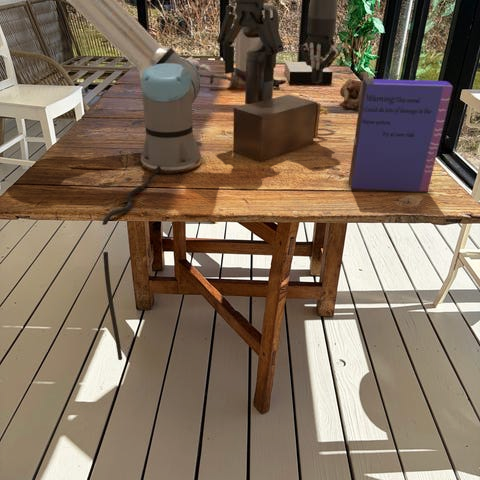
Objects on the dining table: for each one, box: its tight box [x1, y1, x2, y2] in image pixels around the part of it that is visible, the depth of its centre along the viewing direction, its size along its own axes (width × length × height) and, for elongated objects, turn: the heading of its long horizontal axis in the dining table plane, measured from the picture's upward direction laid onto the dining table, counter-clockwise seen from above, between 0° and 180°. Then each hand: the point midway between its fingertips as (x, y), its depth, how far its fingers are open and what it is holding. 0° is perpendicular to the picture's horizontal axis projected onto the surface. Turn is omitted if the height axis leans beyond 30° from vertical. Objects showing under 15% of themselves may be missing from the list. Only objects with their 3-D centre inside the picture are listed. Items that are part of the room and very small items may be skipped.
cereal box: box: [348, 78, 454, 193], centre depth 106 cm, size 17×5×24 cm, turn 86°
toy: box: [180, 56, 212, 73], centre depth 212 cm, size 24×25×7 cm
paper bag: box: [234, 2, 274, 72], centre depth 210 cm, size 19×15×28 cm
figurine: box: [209, 67, 287, 89], centre depth 190 cm, size 24×8×30 cm
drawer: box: [313, 102, 330, 140], centre depth 135 cm, size 26×9×10 cm, turn 133°
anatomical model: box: [339, 71, 369, 110], centre depth 171 cm, size 13×9×15 cm
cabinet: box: [232, 94, 318, 163], centre depth 131 cm, size 22×11×12 cm, turn 133°
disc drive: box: [284, 61, 333, 85], centre depth 207 cm, size 18×22×5 cm
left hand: (248, 77), depth 124 cm, fingers open, 13 cm apart
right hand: (316, 82), depth 136 cm, fingers closed
